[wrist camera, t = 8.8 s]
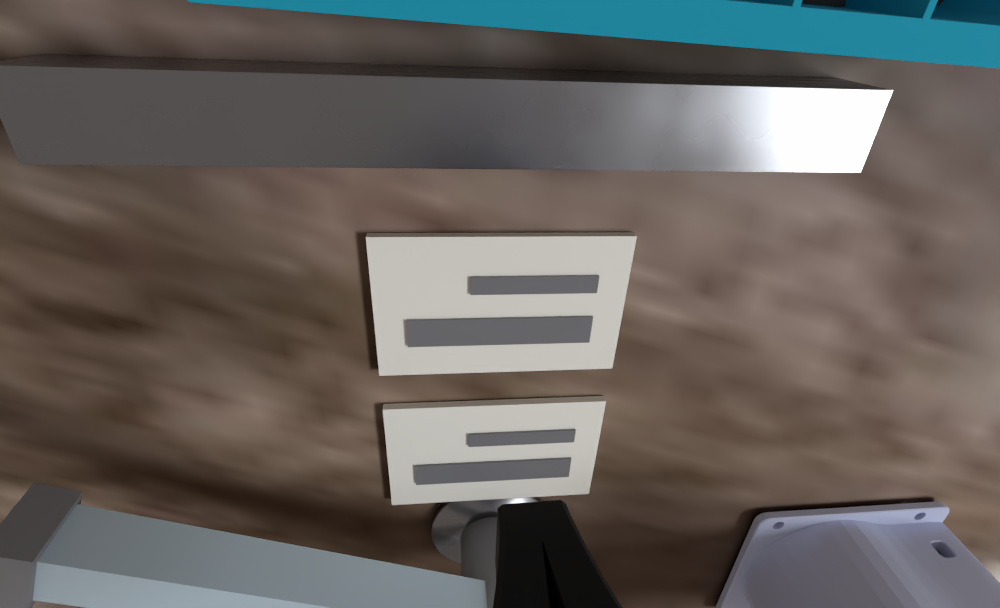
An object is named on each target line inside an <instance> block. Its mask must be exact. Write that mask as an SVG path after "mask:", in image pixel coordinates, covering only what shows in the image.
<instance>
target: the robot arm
mask: <svg viewBox="0 0 1000 608" xmlns="http://www.w3.org/2000/svg"><path fill="white" fill-rule="evenodd" d="M948 514H949V508H948V507H947V506H946V505H945V504H944V503H943V502H938V501H935V502H920V503H904V504H888V505H872V506H856V507H840V508H825V509H809V510H793V511H777V512H765V513H761V514H759V515H758V516H756V517H755V519H754V521H753V523H752V525H751V527H750V530H749V532H748V534H747V537H746V539H745V541H744V543H743V546H742V548H741V550H740V553H739V555H738V557H737V559H736V562H735V564H734V566H733V568H732V571H731V573H730V575H729V578H728V580H727V582H726V584H725V587H724V589H723V591H722V593H721V596H720V598H719V600H718V603H717V605H716V607H715V608H1000V583H999V582H998V581H997V580H996V579H995V578H994V576H993V575H992V574H991V573H990V572H989V571H988V570H987V569H986V568H985V567H984V566H983V565H982V564H981V563H980V562H979V561H978V560H977V558H976V557H975V556H974V555H973V554H972V553H971V552H970V551H969V550H968V549H967V548H966V547H965V546H964V545H963V544H962V543H961V542H960V540H959V539H958V538H957V537H956V536H955V535H954V534H953V533H952V532H951V531H950V530H949V529H948V528H947V527H946V526H945V525H944V524H943V523H942V522H943V521H944V519H945V518H946V517H947V515H948ZM495 567H496V587H495V595H494V602H493V608H622V607H621V605H620V603H619V602H618V600H617V598H616V597H615V595H614V594H613V592H612V590H611V589H610V587H609V585H608V584H607V582H606V580H605V579H604V577H603V575H602V574H601V572H600V570H599V568H598V567H597V565H596V563H595V561H594V559H593V558H592V556H591V554H590V552H589V550H588V549H587V547H586V545H585V543H584V541H583V539H582V537H581V535H580V533H579V531H578V529H577V527H576V525H575V523H574V521H573V519H572V517H571V515H570V513H569V510H568V508H567V506H566V504H565V503H564V502H563V501H561V500H557V501H542V502H527V503H512V504H503V505H501V506H500V507H498V508H497V531H496V554H495Z"/></svg>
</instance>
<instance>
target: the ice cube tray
mask: <svg viewBox="0 0 1000 608" xmlns="http://www.w3.org/2000/svg"><path fill="white" fill-rule="evenodd" d="M187 1H189V2H193V3H205V4H218V5H230V6H242V7H254V8H267V9H279V10H291V11H303V12H316V13H328V14H340V15H353V16H365V17H377V18H389V19H402V20H414V21H426V22H438V23H451V24H463V25H475V26H488V27H500V28H512V29H524V30H537V31H549V32H561V33H573V34H586V35H598V36H610V37H623V38H635V39H647V40H659V41H672V42H684V43H696V44H709V45H721V46H733V47H745V48H758V49H770V50H782V51H794V52H807V53H819V54H831V55H844V56H856V57H868V58H880V59H893V60H905V61H917V62H929V63H942V64H954V65H966V66H979V67H991V68H1000V0H944V1H943V2H942V3H940V4H939V5H938V6H936V4H937V2H938V0H846V2H845V5H844V7H834V6H823V5H813V4H802V0H187ZM935 6H936V7H935Z"/></svg>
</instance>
